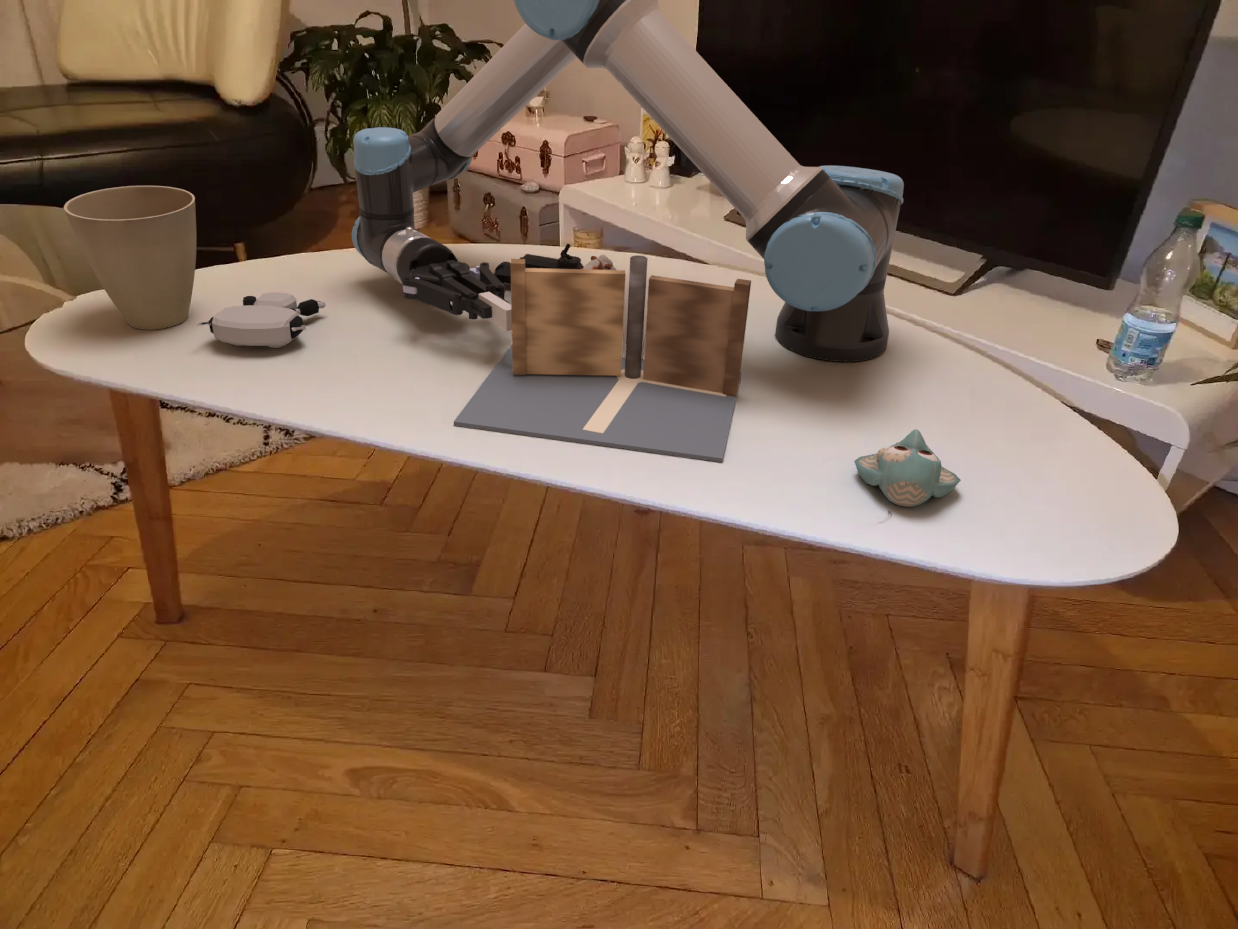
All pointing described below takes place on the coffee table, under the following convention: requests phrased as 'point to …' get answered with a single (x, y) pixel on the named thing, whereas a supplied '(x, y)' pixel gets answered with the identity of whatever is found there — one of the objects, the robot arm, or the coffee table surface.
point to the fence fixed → (686, 331)
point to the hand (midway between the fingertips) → (511, 319)
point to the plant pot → (140, 249)
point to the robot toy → (262, 320)
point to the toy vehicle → (540, 264)
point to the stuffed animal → (907, 472)
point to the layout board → (602, 411)
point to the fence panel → (566, 320)
